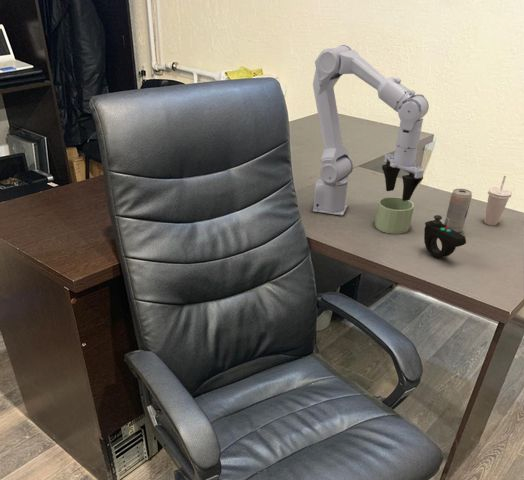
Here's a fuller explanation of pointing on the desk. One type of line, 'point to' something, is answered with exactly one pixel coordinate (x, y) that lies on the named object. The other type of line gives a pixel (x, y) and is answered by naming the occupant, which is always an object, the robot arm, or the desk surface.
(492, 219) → the smoothie
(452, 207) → the energy drink
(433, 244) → the controller
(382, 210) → the cup
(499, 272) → the desk surface
